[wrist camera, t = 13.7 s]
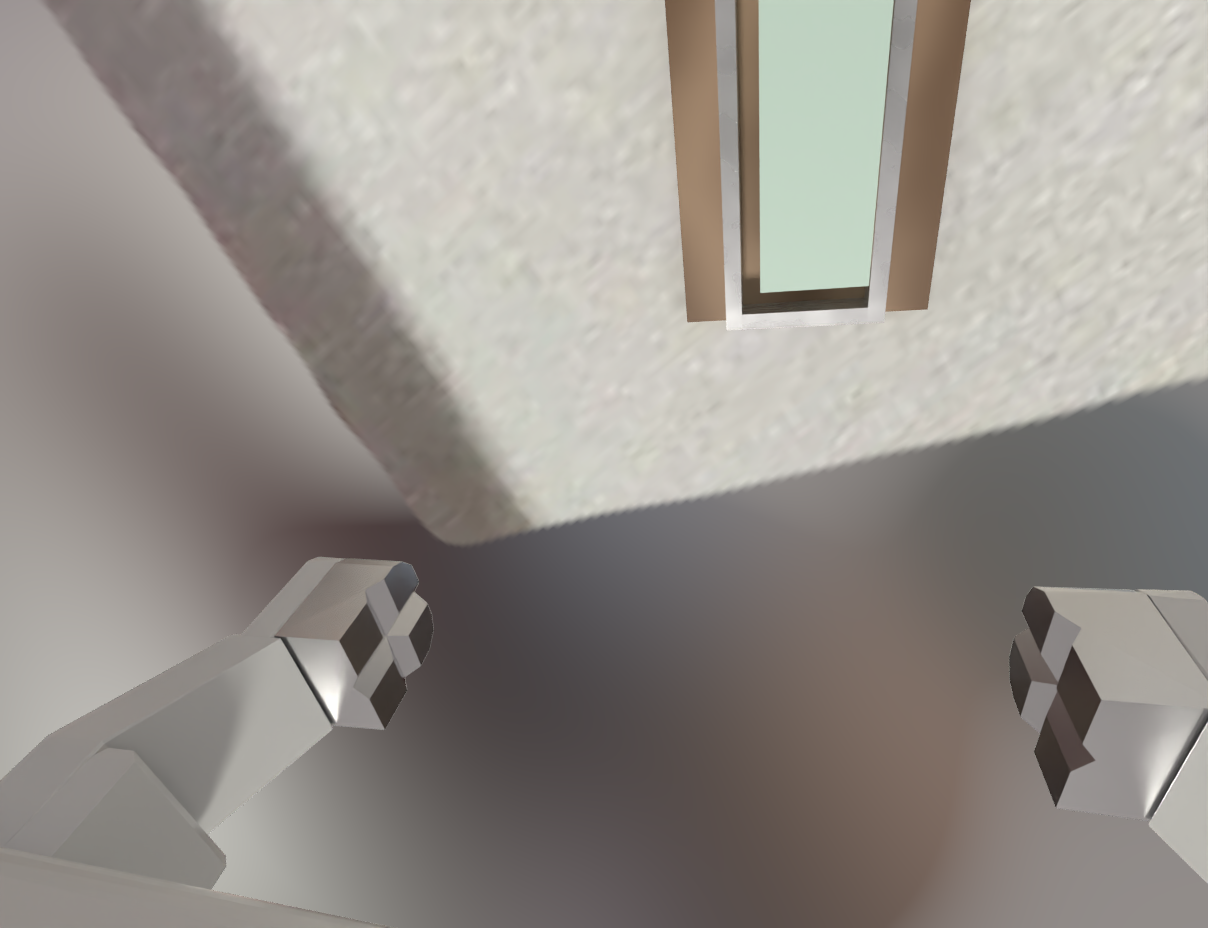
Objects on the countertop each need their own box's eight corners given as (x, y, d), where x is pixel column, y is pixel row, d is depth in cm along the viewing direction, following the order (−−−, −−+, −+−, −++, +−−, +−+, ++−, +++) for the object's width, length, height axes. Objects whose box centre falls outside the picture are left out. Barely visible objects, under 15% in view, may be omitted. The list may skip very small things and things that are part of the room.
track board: (998, -261, 22) (1009, -275, 21) (922, 301, 32) (927, 309, 31) (656, -172, 25) (652, -181, 24) (689, 314, 35) (687, 322, 34)
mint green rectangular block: (870, -92, 24) (905, -140, 17) (848, 233, 30) (868, 286, 24) (762, -69, 25) (758, -107, 18) (763, 240, 31) (760, 292, 25)
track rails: (936, -256, 21) (945, -273, 20) (879, 311, 32) (884, 322, 31) (710, -196, 23) (707, -209, 22) (728, 319, 34) (726, 330, 33)
